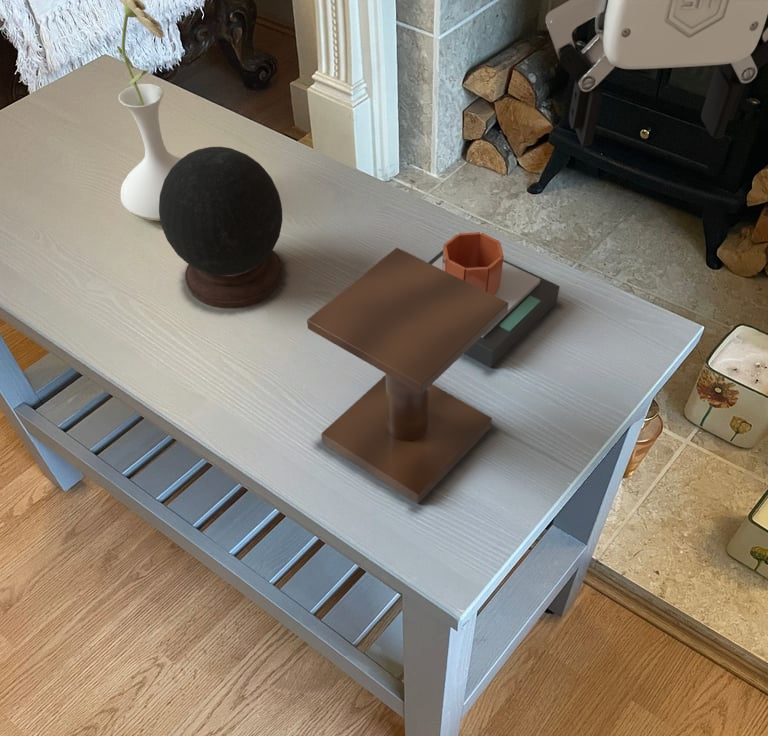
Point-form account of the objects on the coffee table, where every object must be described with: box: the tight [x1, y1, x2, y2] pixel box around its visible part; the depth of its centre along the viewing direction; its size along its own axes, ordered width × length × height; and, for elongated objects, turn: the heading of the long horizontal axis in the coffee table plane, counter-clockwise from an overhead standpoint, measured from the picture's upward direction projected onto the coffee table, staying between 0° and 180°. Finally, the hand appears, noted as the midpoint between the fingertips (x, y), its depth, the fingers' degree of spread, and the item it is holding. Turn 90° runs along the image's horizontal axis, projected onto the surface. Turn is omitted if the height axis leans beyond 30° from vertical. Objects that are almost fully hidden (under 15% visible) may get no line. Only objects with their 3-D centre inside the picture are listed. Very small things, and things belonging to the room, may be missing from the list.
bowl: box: [442, 231, 505, 295], centre depth 86 cm, size 6×6×4 cm
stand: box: [306, 247, 509, 505], centre depth 73 cm, size 12×12×16 cm
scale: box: [427, 249, 561, 369], centre depth 89 cm, size 14×13×3 cm
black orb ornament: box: [159, 146, 283, 309], centre depth 88 cm, size 13×13×15 cm
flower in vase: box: [116, 0, 183, 222], centre depth 93 cm, size 13×11×25 cm
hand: (646, 132), depth 60 cm, fingers open, 9 cm apart
